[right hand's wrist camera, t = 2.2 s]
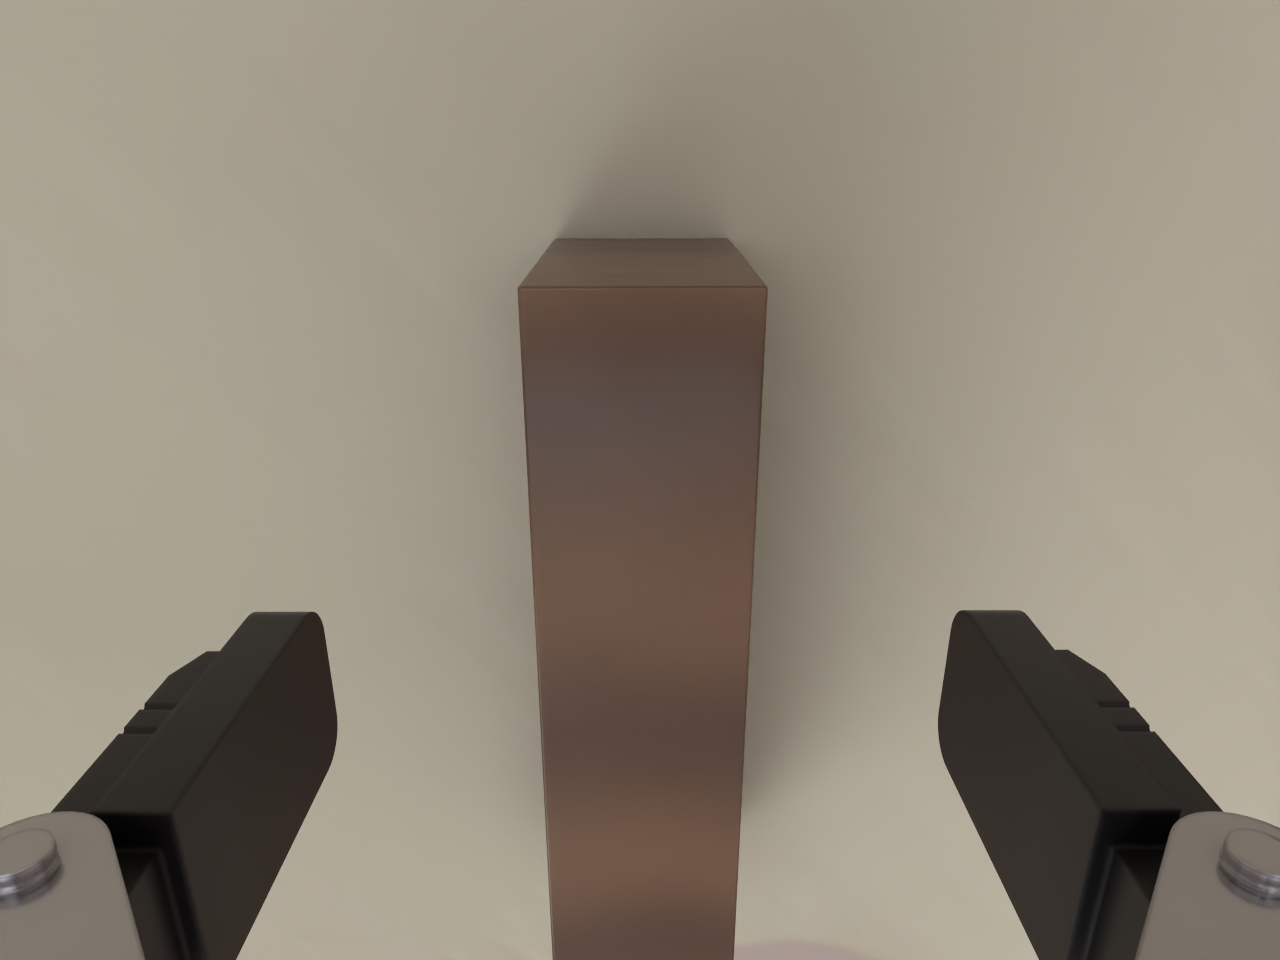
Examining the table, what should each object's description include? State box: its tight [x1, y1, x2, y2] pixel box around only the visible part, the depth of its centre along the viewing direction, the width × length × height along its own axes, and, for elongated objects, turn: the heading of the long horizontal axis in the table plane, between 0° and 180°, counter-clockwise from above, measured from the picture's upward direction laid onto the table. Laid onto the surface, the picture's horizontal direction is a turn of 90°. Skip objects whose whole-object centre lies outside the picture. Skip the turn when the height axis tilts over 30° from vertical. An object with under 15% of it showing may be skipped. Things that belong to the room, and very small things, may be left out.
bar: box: [518, 239, 768, 960], centre depth 26 cm, size 22×5×8 cm, turn 0°
